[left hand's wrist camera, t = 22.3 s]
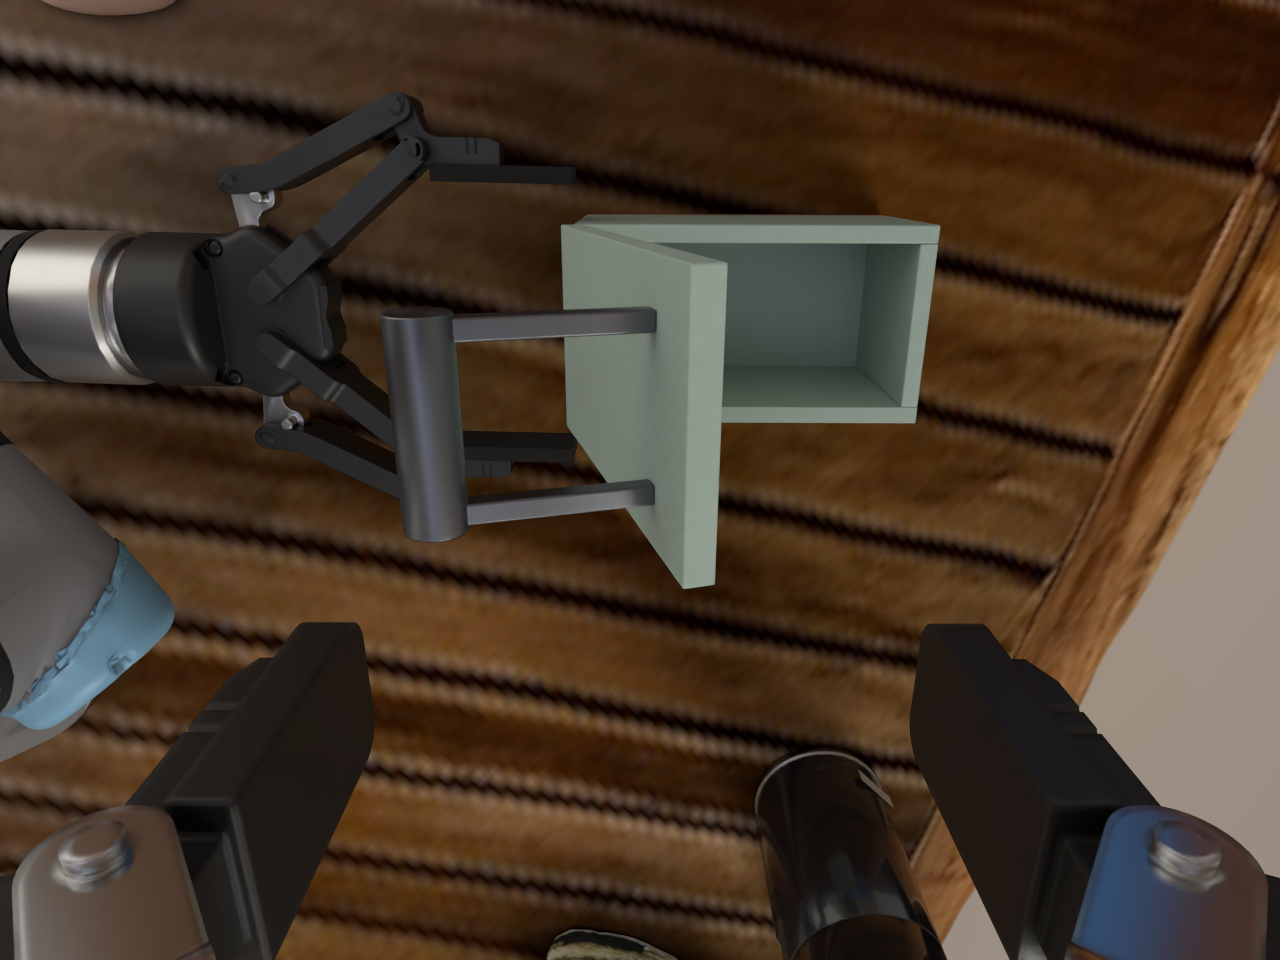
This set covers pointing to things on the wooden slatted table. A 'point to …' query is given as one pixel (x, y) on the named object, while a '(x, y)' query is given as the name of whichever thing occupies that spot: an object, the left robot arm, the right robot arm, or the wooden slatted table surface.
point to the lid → (583, 398)
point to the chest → (811, 309)
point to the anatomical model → (110, 6)
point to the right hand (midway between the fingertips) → (575, 319)
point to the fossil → (602, 947)
